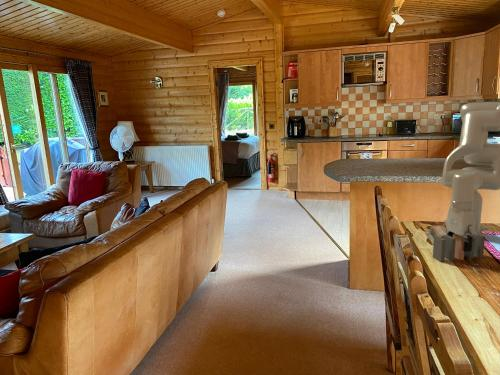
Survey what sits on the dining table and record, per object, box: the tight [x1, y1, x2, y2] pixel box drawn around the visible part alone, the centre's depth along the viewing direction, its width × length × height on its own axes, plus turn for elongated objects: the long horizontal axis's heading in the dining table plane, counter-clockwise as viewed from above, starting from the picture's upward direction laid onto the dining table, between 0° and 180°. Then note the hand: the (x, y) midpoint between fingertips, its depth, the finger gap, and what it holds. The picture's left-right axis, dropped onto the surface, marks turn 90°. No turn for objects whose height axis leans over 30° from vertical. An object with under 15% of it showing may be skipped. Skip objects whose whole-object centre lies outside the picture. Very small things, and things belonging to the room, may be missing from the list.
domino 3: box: [453, 234, 465, 261], centre depth 152 cm, size 2×5×9 cm, turn 9°
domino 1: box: [432, 236, 446, 263], centre depth 150 cm, size 2×5×9 cm, turn 9°
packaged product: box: [425, 225, 447, 245], centre depth 172 cm, size 18×5×10 cm
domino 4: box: [464, 236, 475, 260], centre depth 152 cm, size 2×5×9 cm, turn 9°
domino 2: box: [443, 235, 456, 262], centre depth 151 cm, size 2×5×9 cm, turn 9°
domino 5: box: [474, 233, 486, 259], centre depth 153 cm, size 2×5×9 cm, turn 9°
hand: (458, 246), depth 151 cm, fingers open, 9 cm apart
